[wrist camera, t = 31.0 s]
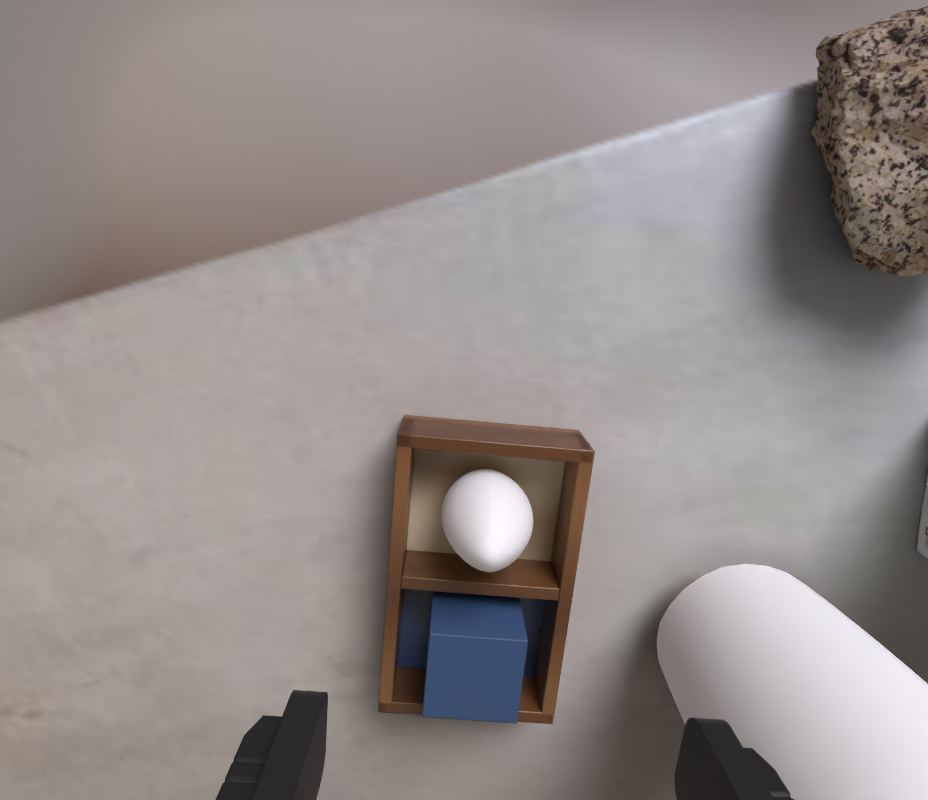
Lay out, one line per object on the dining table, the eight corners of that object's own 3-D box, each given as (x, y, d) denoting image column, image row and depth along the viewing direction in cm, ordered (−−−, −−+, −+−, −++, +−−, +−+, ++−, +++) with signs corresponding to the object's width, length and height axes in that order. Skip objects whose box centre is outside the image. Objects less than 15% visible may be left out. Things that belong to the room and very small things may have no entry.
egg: (484, 552, 26) (492, 624, 21) (425, 500, 26) (418, 561, 20) (542, 497, 26) (565, 558, 20) (483, 443, 25) (491, 490, 20)
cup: (624, 571, 27) (798, 888, 13) (797, 523, 27) (1165, 799, 13) (662, 713, 29) (850, 1121, 15) (824, 671, 28) (1170, 1051, 15)
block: (433, 580, 26) (429, 633, 23) (517, 586, 27) (528, 640, 23) (427, 653, 27) (422, 717, 23) (508, 659, 27) (517, 724, 24)
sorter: (404, 414, 25) (397, 433, 22) (579, 430, 26) (595, 450, 23) (386, 667, 28) (377, 712, 25) (543, 678, 29) (553, 725, 26)
